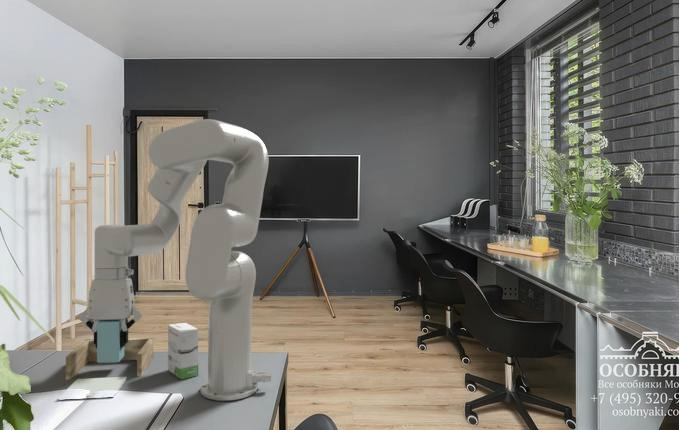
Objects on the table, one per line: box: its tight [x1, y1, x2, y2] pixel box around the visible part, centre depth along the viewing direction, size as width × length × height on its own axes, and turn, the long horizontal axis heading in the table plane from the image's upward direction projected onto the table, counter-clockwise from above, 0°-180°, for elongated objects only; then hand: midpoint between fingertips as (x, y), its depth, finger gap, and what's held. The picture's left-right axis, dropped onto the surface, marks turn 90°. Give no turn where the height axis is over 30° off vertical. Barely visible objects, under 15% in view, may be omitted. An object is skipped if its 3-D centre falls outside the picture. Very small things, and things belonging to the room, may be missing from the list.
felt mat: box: [66, 376, 128, 398], centre depth 107 cm, size 11×11×1 cm
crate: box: [65, 337, 154, 381], centre depth 121 cm, size 17×14×6 cm
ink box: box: [167, 322, 199, 380], centre depth 118 cm, size 9×5×12 cm, turn 39°
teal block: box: [96, 320, 124, 364], centre depth 119 cm, size 5×5×10 cm
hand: (111, 345), depth 119 cm, fingers closed on teal block, 5 cm apart
